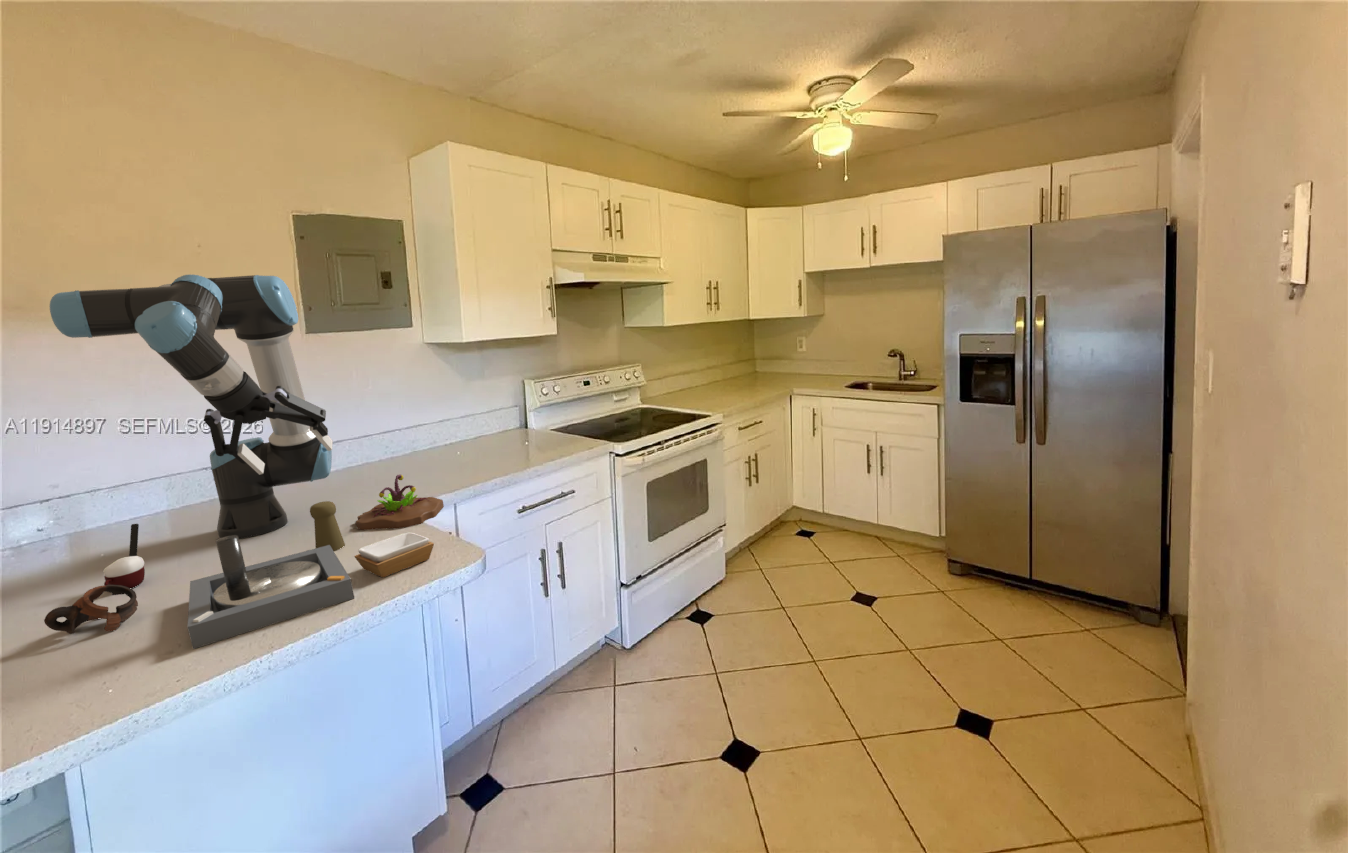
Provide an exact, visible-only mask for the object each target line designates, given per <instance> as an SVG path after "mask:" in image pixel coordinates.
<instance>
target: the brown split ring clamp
mask: <svg viewBox="0 0 1348 853" xmlns="http://www.w3.org/2000/svg"><path fill="white" fill-rule="evenodd" d="M104 592H107V593H111V594H112V596H118V595H125V596H127V597H129V598H130V599H129V600H128V601H126V603H124V604H121V605H117V606H115V612H113V611H112V612H109V607H108V606H104V605H103V606H102V605H99V604H96V603H94V601H95V600H97V599H99V598H100V597H101V596H102V595H103V594H104ZM137 599H138V598H137V593H136V591H135V590H134V589H133V588H132V589H130V588H128V587H126V586H122V585H103V584H102V585H98V586H95V587H92V588H91V589H90V588H89V589H88V590H87V591H86V592H84V594H83V595H82V596H81V597H79V598H78V599H77V600H76V601H75V602H74V603H73V604H72V605H68V606H59V607H56V608H53V609H52V610H50V611H48V613H47V614H46V615H45V618H44V619H43V623H44V625H46V626H47V627H48V628H49V629H51V630H53V631H57V632H60V631H61V632H66V633H67V634H68V635H74V633H75V632H76V631H75V630H76V629H77V628H78V627H79V626H80V625H82V624H84V623H86V622H91V621H96V620H95V619H97V620H99V619H98V618H101V619H102V620H106V624H105V625H104V626H105V627H104V631H105V632H114V631H113V630H115V631H117V630H118V629H119V627H120V625H121V624H122V623H124V622H125V621H127V620H129V619H130V617H132V615H134V614H135V612H136V611H138V606H139V603H138V600H137ZM60 618H65V620H64V621H58V619H60ZM101 619H100V620H101Z"/></svg>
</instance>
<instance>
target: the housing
mask: <svg viewBox="0 0 1348 853" xmlns="http://www.w3.org/2000/svg"><path fill="white" fill-rule="evenodd" d="M296 561H308V562H314V563H317V564H318V565H319V566H320V570H321V575H322V579H321V581H320V582H319V583H315V584H312V585H308V586H305V587H301V588H298V589H294V590H291V591H288V592H284V593H281V594H277V595H274V596H270V597H267V598H264V599H260V600H257V601H253V602H250V603H246V604H243V605H240V606H236V607H233V608H229V609H226V610H222V611H220V610H218V609H217V608H216V604H215V600H214V596H213V595H214V592H215V591H216V590H217V588H219V587H220V586H221V585H223V584H224V583H226V582H225V578H224V574H223V572H221V573H220V572H219V573H217V574H213V575H210V576H206V577H201V578H197V579H194V580H190V582H189V593H188V594H189V596H188V613H187V631H188V636H189V638H190V643H191V646H192V649H193V650H194V649H197V648H201V647H204V646H207V645H210V644H211V645H212V644H213V643H216V642H220V641H223V640H226V639H230V638H232V637H236V636H239V635H242V634H245V633H248V632H251V631H255V630H258V629H261V628H264V627H268V626H271V625H274V624H276V623H280V622H283V621H287V620H289V619H290V620H291V619H293V618H296V617H299V616H304V615H306V614H309V613H313V612H315V610H316V611H318V610H321V609H324V608H328V607H331V606H334V605H337V604H341V603H343V602H347V601H350V600H353V599H355V595H354V589H353V584H352V583H353V582H352V580H351V579H352V578H351V577H350V575H349V573H348V572H347V571H346V569H345V568H344V566H343V564H342V562H341V561H340V560H339V558H338V556H337V555H336V553H335V551H333V549H332V548H331V546H330V545H327V546H323V547H319V548H316V547H315V548H312V549H309V550H305V551H301V552H297V553H293V554H289V555H285V556H281V557H278V558H274V559H269V560H267V561H263V562H257V563H255V564H251V565H248V566H245V568H246V572H247V573H248V572H251V571H253V570H257V569H260V568H263V567H267V566H271V565H276V564H281V563H287V562H296Z"/></svg>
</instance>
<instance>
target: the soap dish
mask: <svg viewBox="0 0 1348 853" xmlns="http://www.w3.org/2000/svg"><path fill="white" fill-rule="evenodd" d="M434 544H435V543H434V542H432V541H430V539H429V537H426V536H423V535H420V534H417V533H414V532H403V533H401V534H398V535H395V536H394V535H393V536H391V537H389V538H386V539H385V538H384V539H382V540H379V541H375V542H373V543H371V544H368V545H364V546H362V547H360V548H359V549H358V554H356V555H354V556H353V557H354V559H355V560H356V561H357V562H358V563H359V565H360V567H362V570H365V571H366V572H368V573H371V574H373V573H374V574H373V575H375V574H376V576H378V577H379V578H386V577H388V576H391V575H393V574H396V573H398V572H400V570H401V571H403V570H405V568H406V569H407V568H410V567H413V566H415V565H418V564H421V563H423V562H426V561H428V560H430V557H431V554H432V552H433V549H434ZM420 562H421V563H420ZM402 569H403V570H402ZM392 573H393V574H392ZM390 574H391V575H390Z"/></svg>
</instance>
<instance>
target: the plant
mask: <svg viewBox="0 0 1348 853" xmlns="http://www.w3.org/2000/svg"><path fill="white" fill-rule="evenodd" d="M403 480H404V475H402V474H397V475H396V476H395V479H394V489H393V488H392V487H384V488H383V489H382V490H381V491H380V492H379V493H378V496H379V498H383V499H384V500H382V499H381V500H379V499H377V500H376V502H378V503H379V504H377V505H375V506H374V507H372V508H371V509H370V510H368V511H365V512H362V514H360V515H358V516H357V520H355V526H356V529H357V530H361V531H372V530H382V529H383V530H385V529H386V528H387V529H395V530H398V529H402V528H403V527H404V528H409V527H413V526H416V525H422V524H424V522H426V521H427V520H431V519H434V518H435V517H437V516H438V515H439V513H440V512H441V511H442V510H443V508H444V507H445V505H444V500H443V499H441V498H437V497H433V496H427V497H418V494H416V495H414V493H415V492H416V490H417V487H415V486H414V485H410V484H409V485H405V486H404V487H402V488H401V489H400V485H399V481H403ZM407 489H410V490H409V492H407V493H406V494H404V491H406V490H407ZM385 491H389V493H388V494H387V496H385ZM421 523H422V524H421ZM404 528H403V529H404Z"/></svg>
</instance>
